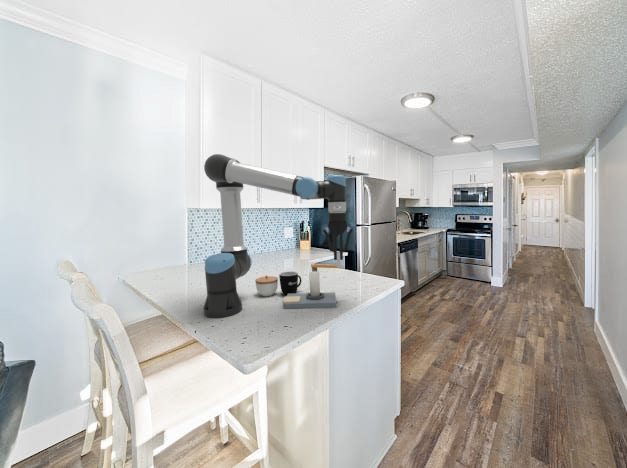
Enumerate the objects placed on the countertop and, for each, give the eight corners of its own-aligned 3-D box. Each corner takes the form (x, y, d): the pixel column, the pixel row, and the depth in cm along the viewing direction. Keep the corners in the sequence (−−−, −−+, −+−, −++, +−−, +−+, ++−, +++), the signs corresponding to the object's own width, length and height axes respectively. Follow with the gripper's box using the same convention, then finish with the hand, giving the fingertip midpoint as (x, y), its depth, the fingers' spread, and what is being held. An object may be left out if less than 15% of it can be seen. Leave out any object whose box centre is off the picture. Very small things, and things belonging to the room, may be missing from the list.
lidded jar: (254, 293, 138) (253, 274, 137) (275, 290, 141) (274, 272, 140) (258, 299, 128) (257, 279, 127) (280, 295, 131) (279, 276, 131)
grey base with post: (282, 308, 114) (280, 275, 113) (287, 297, 128) (285, 267, 127) (336, 307, 113) (335, 273, 112) (335, 296, 127) (334, 266, 126)
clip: (310, 267, 124) (309, 264, 124) (312, 266, 127) (312, 263, 127) (340, 268, 119) (340, 266, 119) (342, 267, 122) (342, 264, 122)
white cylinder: (309, 298, 119) (308, 273, 118) (310, 295, 123) (309, 271, 122) (320, 298, 119) (319, 273, 118) (320, 295, 123) (319, 271, 122)
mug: (287, 298, 128) (286, 276, 127) (276, 294, 134) (275, 273, 133) (307, 292, 135) (306, 271, 135) (296, 288, 142) (295, 269, 141)
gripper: (321, 213, 113) (323, 269, 115) (353, 212, 112) (354, 268, 114) (322, 212, 120) (323, 265, 122) (351, 211, 120) (352, 265, 122)
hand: (338, 267), depth 118 cm, fingers closed
